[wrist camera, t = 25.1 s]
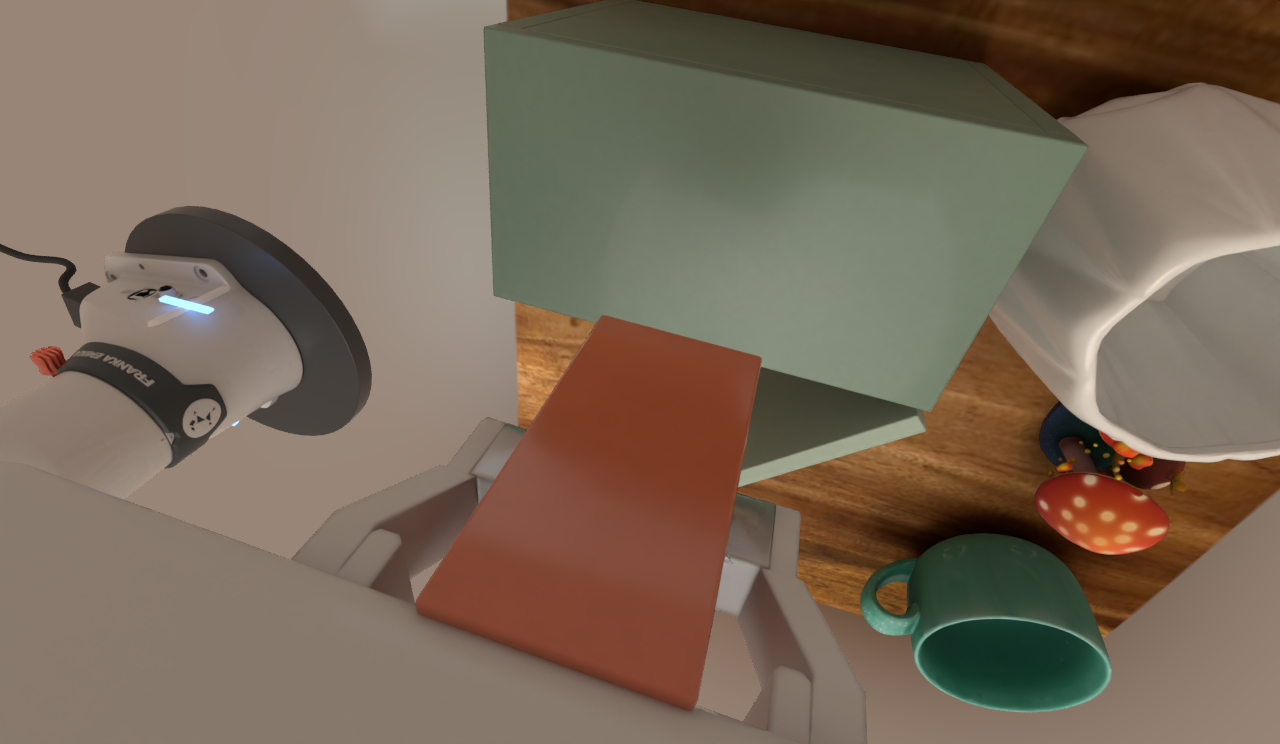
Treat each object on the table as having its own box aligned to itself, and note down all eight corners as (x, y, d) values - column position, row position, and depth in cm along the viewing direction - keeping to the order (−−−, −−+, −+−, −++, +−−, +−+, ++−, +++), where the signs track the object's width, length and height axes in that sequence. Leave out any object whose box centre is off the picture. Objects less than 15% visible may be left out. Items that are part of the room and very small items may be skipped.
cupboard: (899, 255, 36) (930, 413, 24) (602, 186, 39) (493, 296, 27) (985, 63, 30) (1090, 145, 17) (618, -4, 32) (482, 26, 20)
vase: (1353, 155, 28) (1728, 306, 16) (1096, 357, 37) (1217, 548, 25) (1105, 14, 27) (1304, 63, 16) (906, 253, 36) (937, 398, 24)
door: (936, 343, 39) (980, 521, 27) (696, 432, 50) (649, 589, 37) (891, 260, 37) (917, 415, 24) (649, 373, 47) (583, 520, 35)
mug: (1106, 540, 45) (1159, 656, 37) (1021, 622, 52) (1050, 732, 45) (890, 479, 47) (899, 577, 40) (839, 566, 55) (839, 662, 47)
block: (589, 430, 16) (437, 720, 10) (601, 312, 14) (411, 602, 8) (725, 470, 16) (652, 804, 10) (763, 355, 13) (697, 704, 7)
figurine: (1125, 505, 42) (1177, 607, 36) (998, 463, 43) (1026, 555, 37) (1266, 384, 35) (1365, 485, 28) (1109, 337, 36) (1169, 424, 29)
